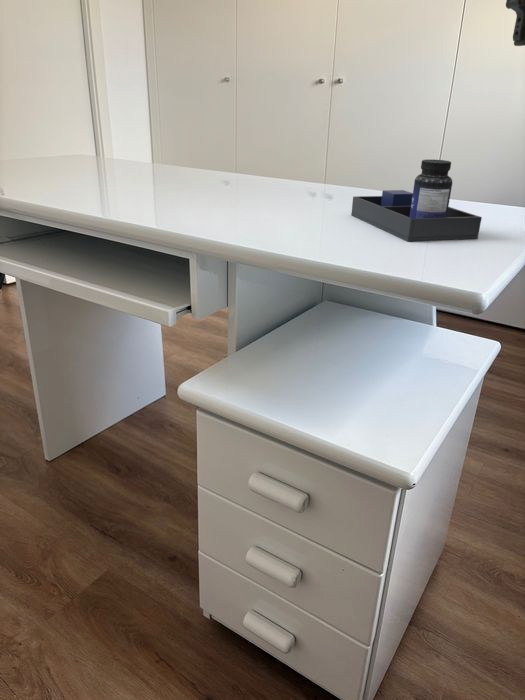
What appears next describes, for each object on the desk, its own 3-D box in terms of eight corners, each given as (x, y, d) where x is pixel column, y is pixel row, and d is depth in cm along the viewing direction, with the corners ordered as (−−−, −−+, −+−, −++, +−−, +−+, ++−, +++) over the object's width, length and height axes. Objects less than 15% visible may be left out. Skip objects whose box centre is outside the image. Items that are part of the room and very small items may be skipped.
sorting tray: (410, 213, 109) (413, 195, 107) (477, 238, 90) (482, 217, 88) (351, 215, 106) (352, 196, 104) (407, 241, 86) (410, 219, 85)
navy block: (400, 213, 104) (403, 190, 103) (411, 217, 101) (415, 193, 99) (379, 213, 103) (382, 190, 101) (390, 218, 100) (393, 194, 98)
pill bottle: (412, 222, 96) (422, 158, 92) (447, 227, 94) (459, 160, 89) (404, 228, 91) (413, 160, 87) (440, 233, 89) (452, 163, 84)
